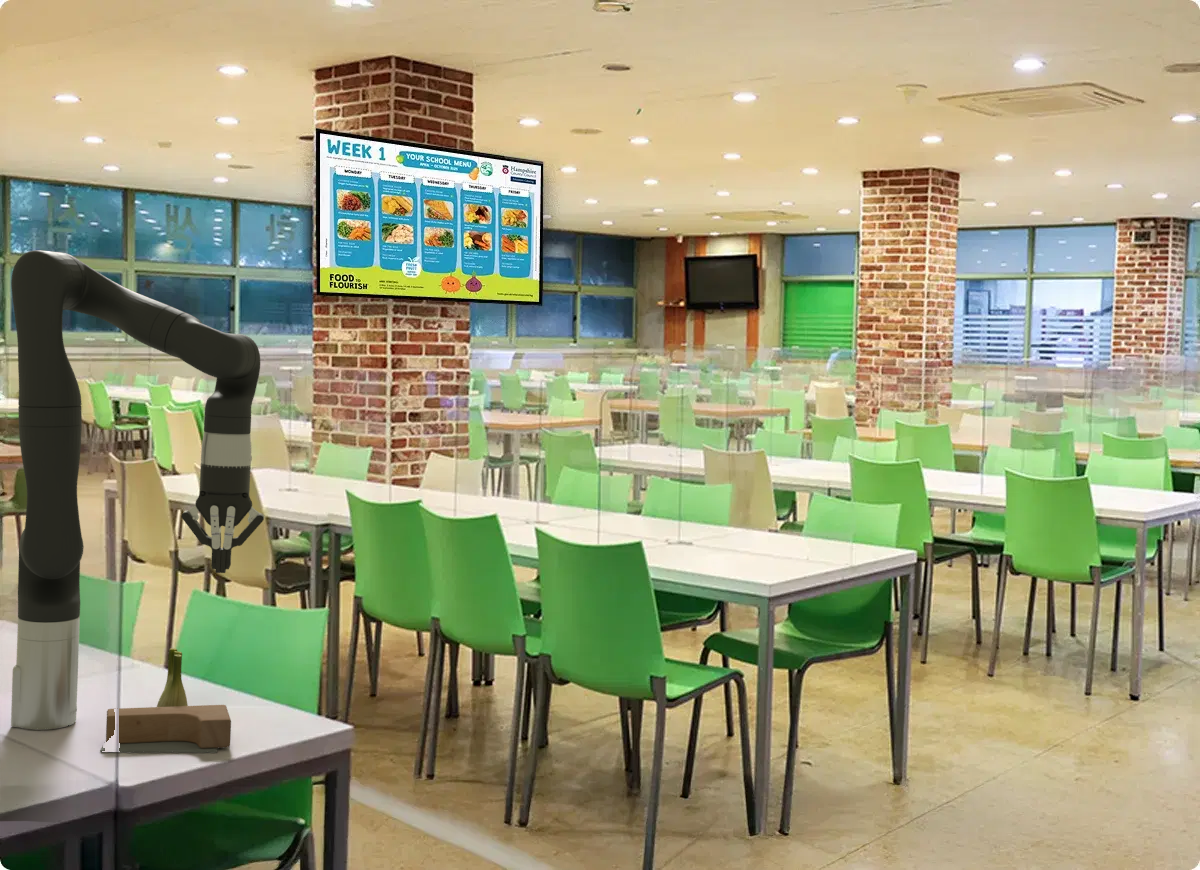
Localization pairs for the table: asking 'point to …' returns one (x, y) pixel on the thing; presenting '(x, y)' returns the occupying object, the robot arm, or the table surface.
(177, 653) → the fennel bulb
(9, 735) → the table surface
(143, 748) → the mat
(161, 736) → the wooden block
